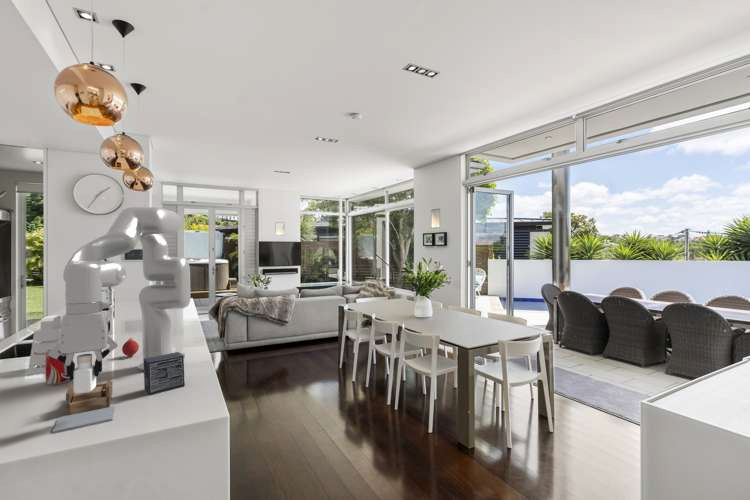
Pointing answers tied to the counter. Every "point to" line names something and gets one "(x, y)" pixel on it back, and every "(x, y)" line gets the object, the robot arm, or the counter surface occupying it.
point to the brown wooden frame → (89, 404)
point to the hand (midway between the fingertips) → (84, 376)
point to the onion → (130, 347)
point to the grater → (44, 343)
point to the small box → (163, 373)
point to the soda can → (55, 369)
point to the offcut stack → (89, 395)
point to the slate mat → (84, 419)
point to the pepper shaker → (84, 374)
